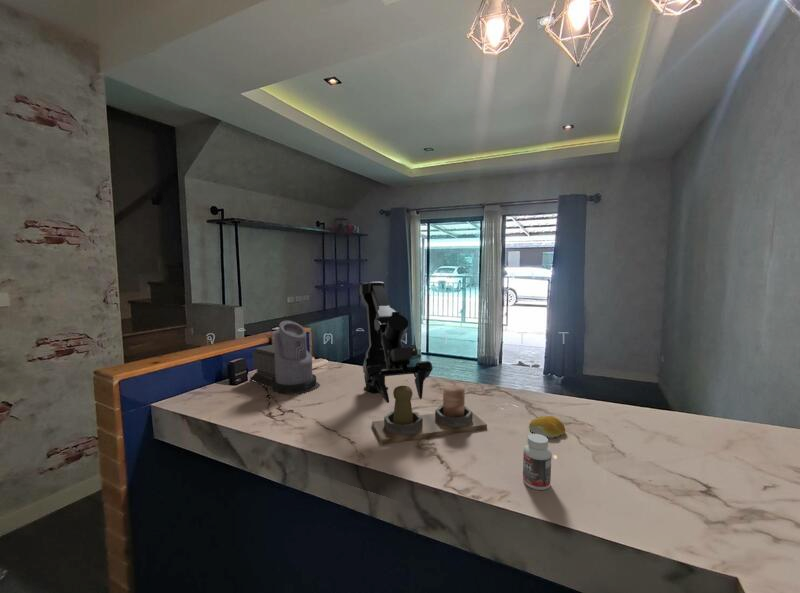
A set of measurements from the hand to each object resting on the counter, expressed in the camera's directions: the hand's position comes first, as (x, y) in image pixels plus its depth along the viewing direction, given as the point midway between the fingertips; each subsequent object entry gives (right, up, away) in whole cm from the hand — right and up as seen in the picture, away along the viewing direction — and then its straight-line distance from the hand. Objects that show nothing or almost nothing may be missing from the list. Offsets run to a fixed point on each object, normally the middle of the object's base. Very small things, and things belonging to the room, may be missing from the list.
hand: (404, 400), depth 96 cm
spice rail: (+7, -9, +4) cm, 12 cm away
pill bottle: (+27, -11, -21) cm, 36 cm away
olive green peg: (0, -8, +2) cm, 8 cm away
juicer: (-45, -6, +41) cm, 62 cm away
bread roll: (+39, -9, +2) cm, 40 cm away
